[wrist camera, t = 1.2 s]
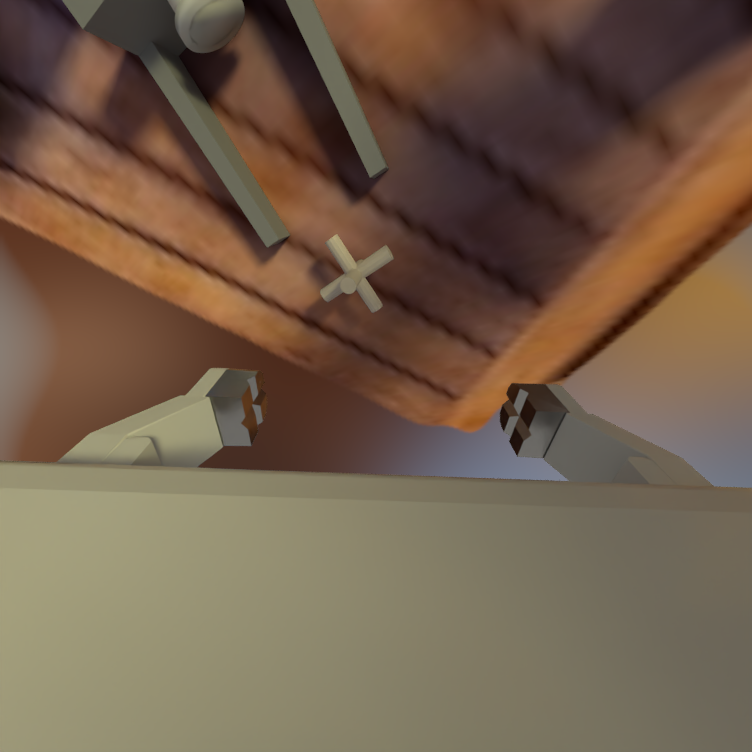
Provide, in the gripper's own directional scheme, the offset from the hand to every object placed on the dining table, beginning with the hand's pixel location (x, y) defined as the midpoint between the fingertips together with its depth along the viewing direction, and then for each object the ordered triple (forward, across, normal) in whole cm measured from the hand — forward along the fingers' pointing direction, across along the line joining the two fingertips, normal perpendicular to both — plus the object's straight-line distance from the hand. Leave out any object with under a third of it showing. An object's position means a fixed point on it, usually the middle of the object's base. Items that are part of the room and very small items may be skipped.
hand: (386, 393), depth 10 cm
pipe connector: (+36, +2, +4) cm, 36 cm away
